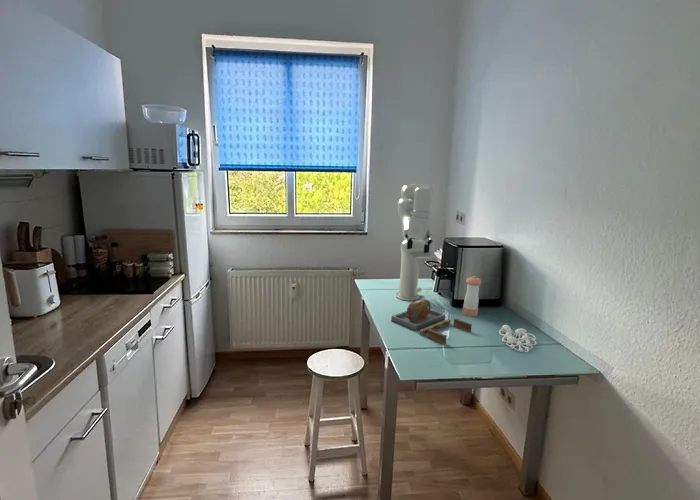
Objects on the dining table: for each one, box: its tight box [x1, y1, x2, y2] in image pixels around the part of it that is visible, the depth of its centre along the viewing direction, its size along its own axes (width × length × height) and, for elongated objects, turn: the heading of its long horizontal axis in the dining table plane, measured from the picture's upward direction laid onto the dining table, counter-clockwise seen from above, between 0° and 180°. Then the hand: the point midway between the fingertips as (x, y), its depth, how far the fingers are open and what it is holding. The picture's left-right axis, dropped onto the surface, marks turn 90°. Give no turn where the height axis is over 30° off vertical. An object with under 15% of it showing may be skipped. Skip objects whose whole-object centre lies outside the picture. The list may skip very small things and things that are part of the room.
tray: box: [390, 308, 446, 332], centre depth 187 cm, size 22×14×2 cm, turn 134°
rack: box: [419, 318, 473, 345], centre depth 174 cm, size 21×12×4 cm, turn 134°
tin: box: [406, 299, 431, 322], centre depth 186 cm, size 15×3×8 cm, turn 133°
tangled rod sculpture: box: [498, 324, 537, 353], centre depth 168 cm, size 19×14×4 cm
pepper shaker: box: [461, 275, 482, 317], centre depth 197 cm, size 7×7×19 cm
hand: (417, 250), depth 192 cm, fingers open, 9 cm apart
